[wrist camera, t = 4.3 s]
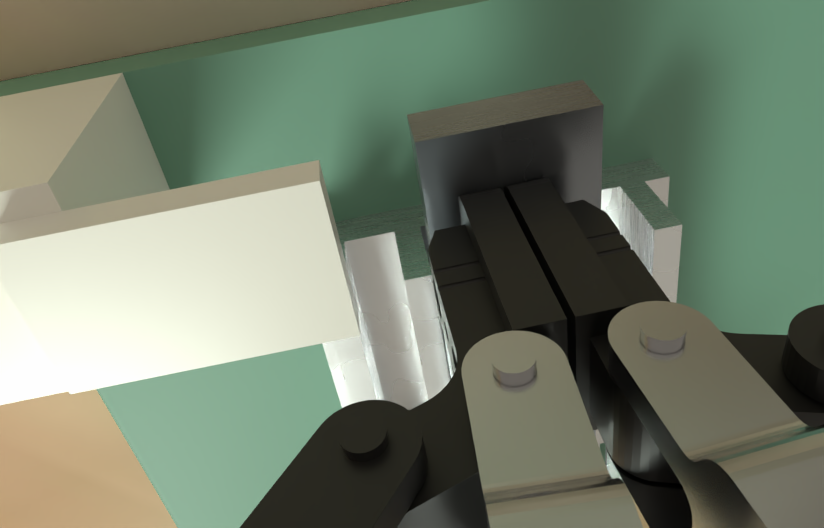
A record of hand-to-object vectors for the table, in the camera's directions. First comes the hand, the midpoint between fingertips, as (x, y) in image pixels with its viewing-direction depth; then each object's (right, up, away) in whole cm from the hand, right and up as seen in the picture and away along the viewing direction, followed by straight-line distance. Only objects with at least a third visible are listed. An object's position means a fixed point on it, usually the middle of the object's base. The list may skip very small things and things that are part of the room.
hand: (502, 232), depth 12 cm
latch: (-7, +2, +4) cm, 8 cm away
